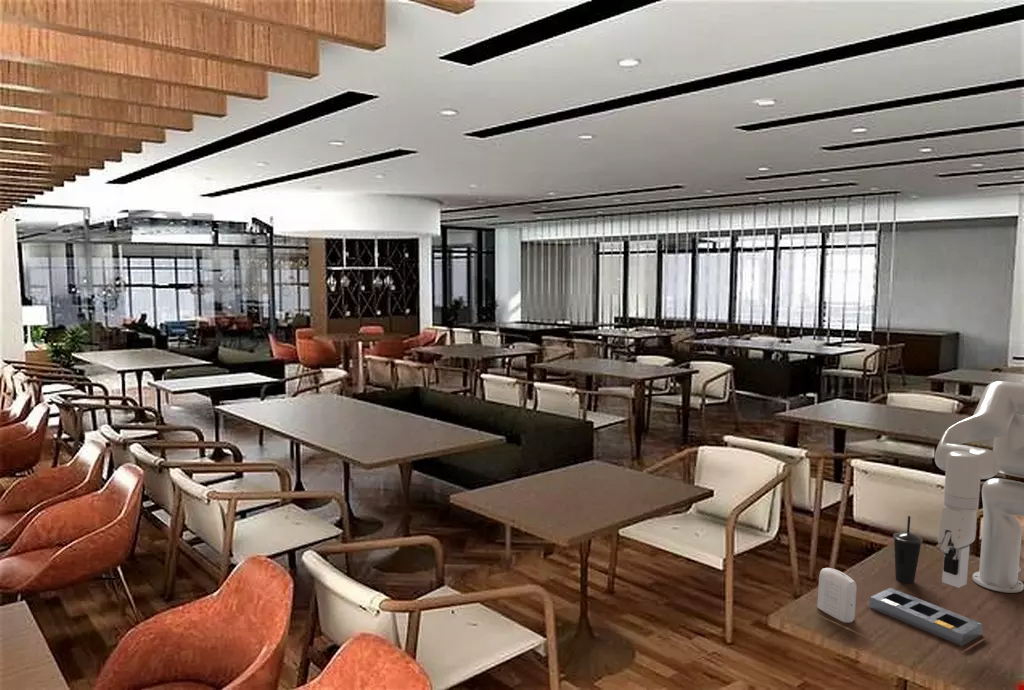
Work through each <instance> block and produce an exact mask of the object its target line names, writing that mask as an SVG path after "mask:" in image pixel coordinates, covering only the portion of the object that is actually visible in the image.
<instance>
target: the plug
mask: <svg viewBox="0 0 1024 690" xmlns="http://www.w3.org/2000/svg"><path fill="white" fill-rule="evenodd" d="M950 545H952V546H954V544H952V543H951V544H950ZM970 548H971V545H970V546H967V545H966V546H963V547H961V548H959V551H958V557H957V559H958V560H959V564H958V574H957V575H953V574H950V573H947V572H945V571H944V570H943V568H944V562H943V565H942V575H941V576H942V577H941V583H944V584H947V585H948V586H949V585H950V586H952V587H955V588H958V589H959V588H962V587H963V586H966V585H967V583H968V582H967V581H968V570H969V560H970V559H969V558H970ZM949 549H950V550H952V551H953V553H954V549H951V548H949Z"/></svg>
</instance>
